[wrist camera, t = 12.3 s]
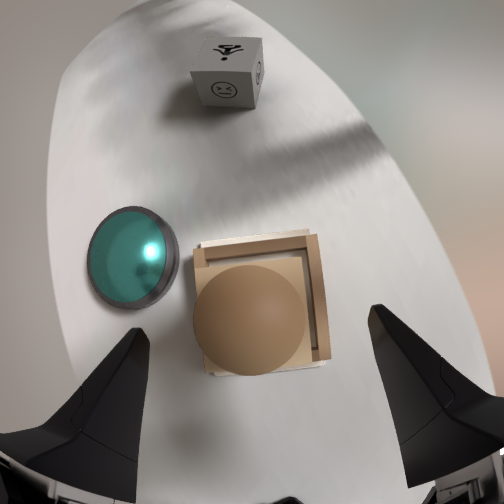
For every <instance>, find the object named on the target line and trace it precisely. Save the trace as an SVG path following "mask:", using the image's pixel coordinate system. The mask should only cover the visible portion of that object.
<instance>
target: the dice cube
mask: <svg viewBox="0 0 504 504" xmlns="http://www.w3.org/2000/svg"><path fill="white" fill-rule="evenodd" d="M190 73H191V76H192V79H193V81H194V84H195V87H196V89H197V92H198V95H199V97H200V100H201V103H202V105H203V106H221V107H238V108H250V109H256V104H257V100H258V96H259V92H260V88H261V84H262V80H263V76H264V63H263V48H262V38H255V37H207V38H206V40H205V42H204V44H203V46H202V48H201V49H200V51H199V53H198V55H197V57H196V59H195V61H194V63H193V66H192V68H191V70H190Z"/></svg>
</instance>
